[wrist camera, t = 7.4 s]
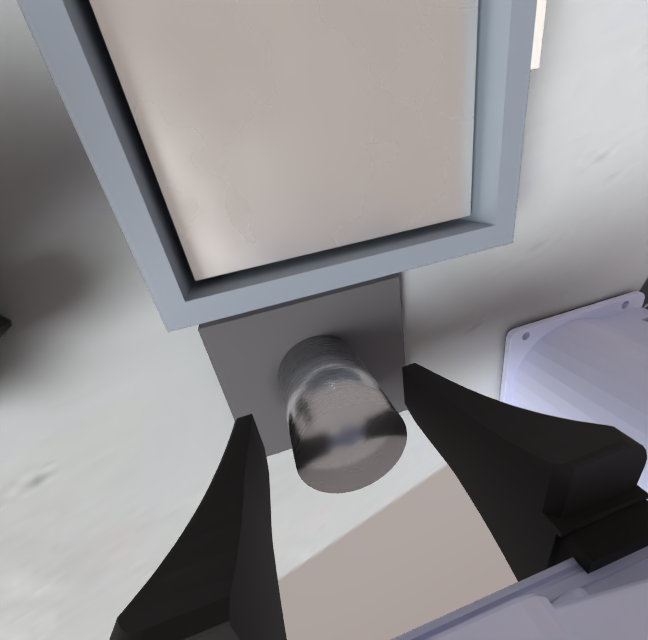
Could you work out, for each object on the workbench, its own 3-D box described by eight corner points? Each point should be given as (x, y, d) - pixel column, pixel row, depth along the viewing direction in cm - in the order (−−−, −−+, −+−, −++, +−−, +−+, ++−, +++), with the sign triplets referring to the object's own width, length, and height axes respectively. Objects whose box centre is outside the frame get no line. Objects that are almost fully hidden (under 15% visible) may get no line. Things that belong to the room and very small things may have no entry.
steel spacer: (354, 326, 15) (405, 388, 10) (361, 394, 16) (407, 472, 12) (270, 346, 14) (285, 422, 9) (286, 415, 16) (305, 506, 11)
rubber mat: (393, 273, 15) (399, 276, 14) (403, 402, 18) (408, 409, 18) (199, 323, 13) (197, 329, 13) (250, 452, 17) (251, 461, 16)
